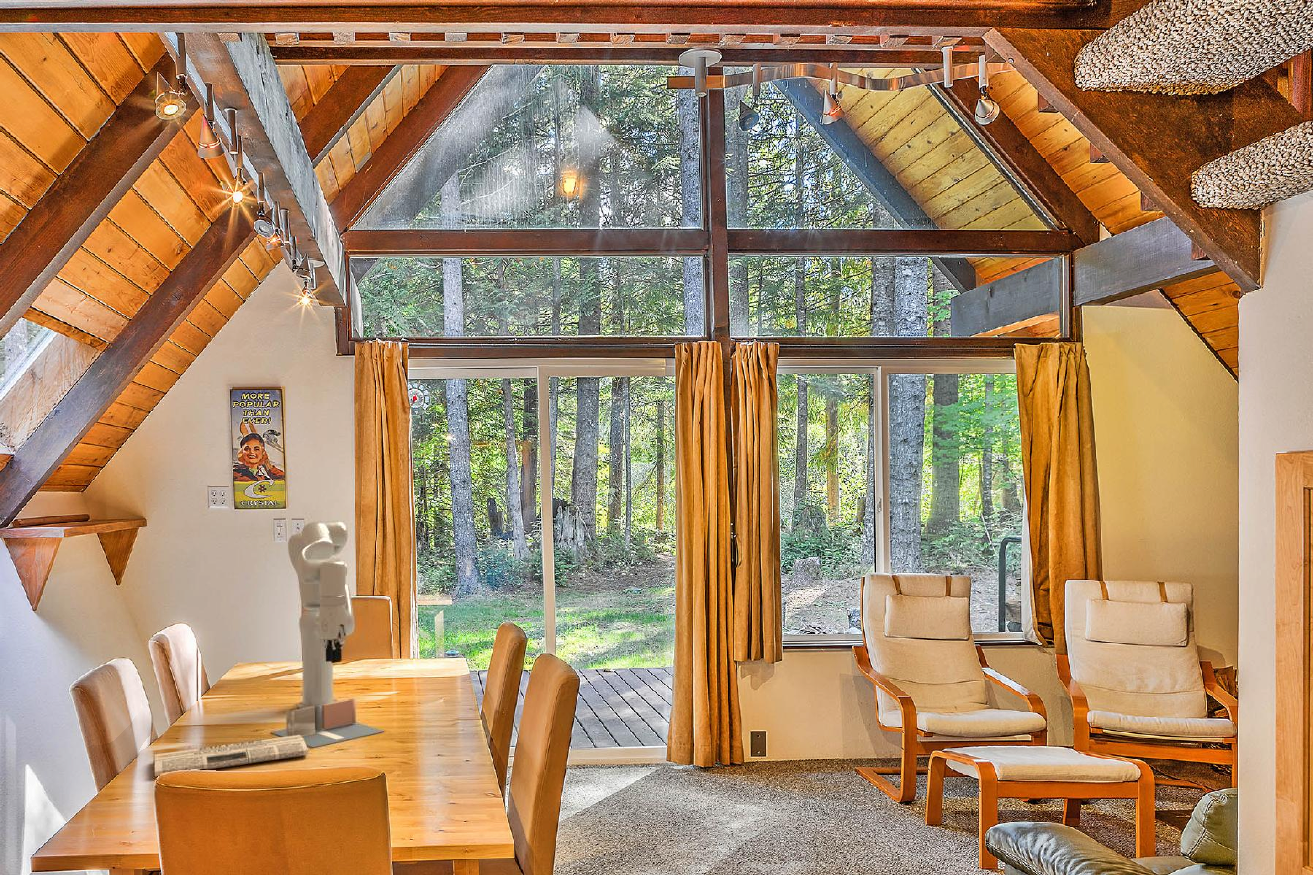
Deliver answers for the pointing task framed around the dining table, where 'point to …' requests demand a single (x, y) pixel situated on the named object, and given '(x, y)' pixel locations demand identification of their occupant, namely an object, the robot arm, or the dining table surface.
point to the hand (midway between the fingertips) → (333, 661)
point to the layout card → (334, 734)
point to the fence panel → (335, 714)
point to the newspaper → (231, 754)
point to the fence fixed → (300, 721)
